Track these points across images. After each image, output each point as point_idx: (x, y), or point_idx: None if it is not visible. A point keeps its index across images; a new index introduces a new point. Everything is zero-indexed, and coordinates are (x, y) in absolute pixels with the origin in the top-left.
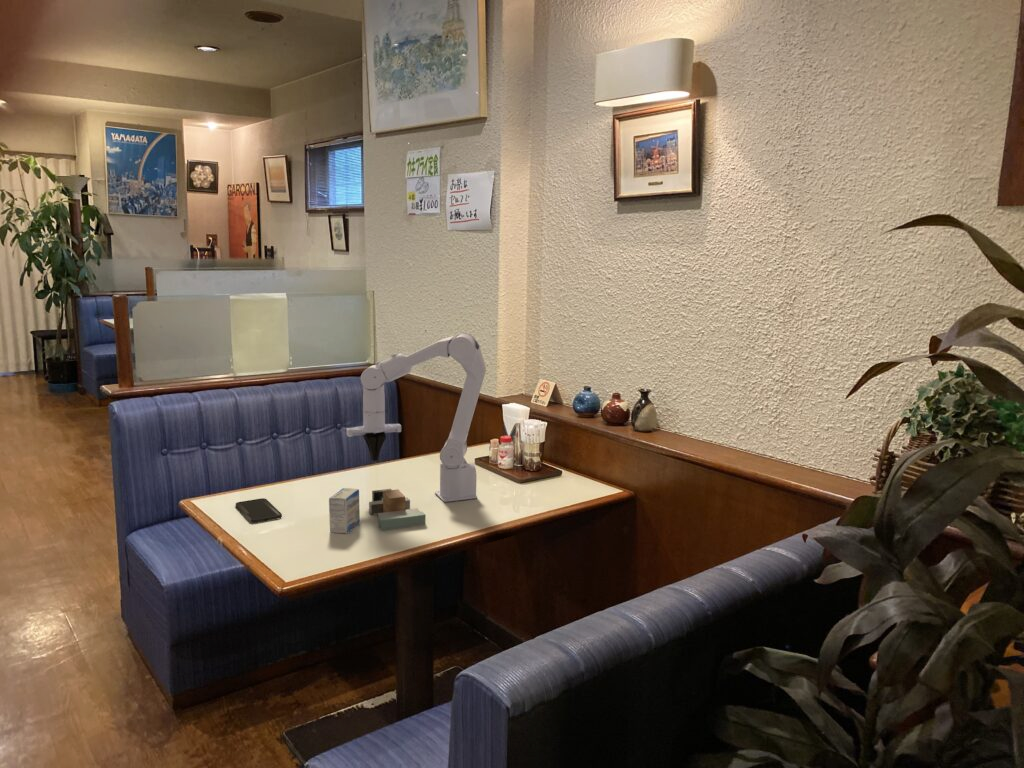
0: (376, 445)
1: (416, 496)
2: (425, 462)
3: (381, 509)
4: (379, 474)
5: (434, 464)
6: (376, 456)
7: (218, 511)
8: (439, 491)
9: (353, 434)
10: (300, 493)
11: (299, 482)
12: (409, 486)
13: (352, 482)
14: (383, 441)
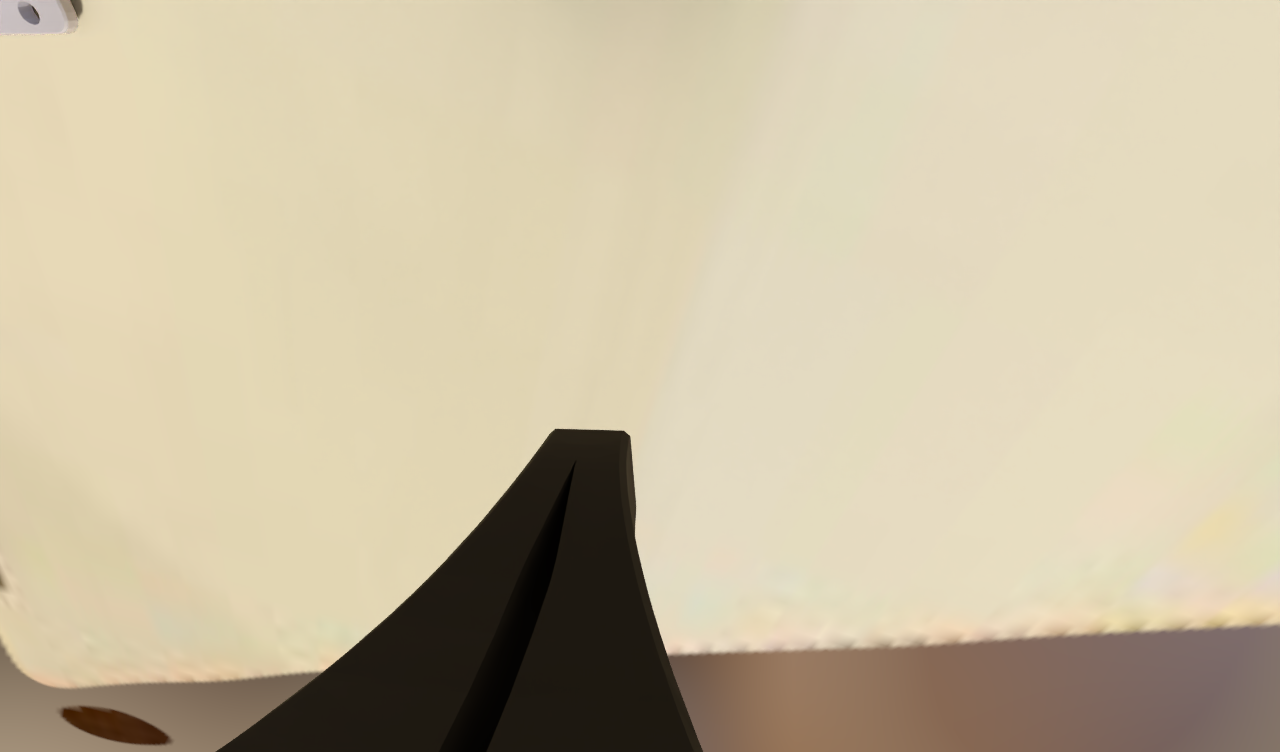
0: (501, 669)
1: (269, 15)
2: (267, 618)
3: None
4: None
5: (213, 584)
6: (561, 468)
7: None
8: (19, 17)
9: None
10: (1173, 451)
11: (1029, 607)
12: (346, 309)
13: (728, 510)
14: (257, 733)
